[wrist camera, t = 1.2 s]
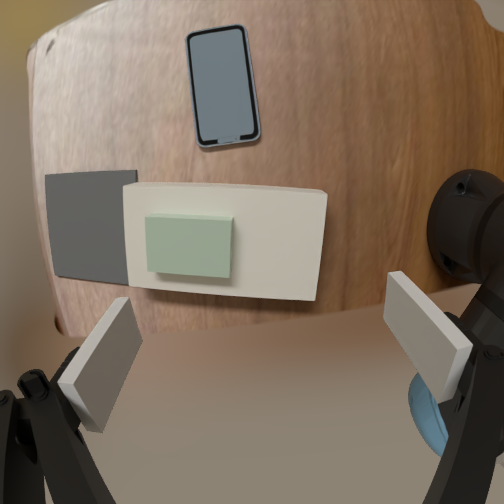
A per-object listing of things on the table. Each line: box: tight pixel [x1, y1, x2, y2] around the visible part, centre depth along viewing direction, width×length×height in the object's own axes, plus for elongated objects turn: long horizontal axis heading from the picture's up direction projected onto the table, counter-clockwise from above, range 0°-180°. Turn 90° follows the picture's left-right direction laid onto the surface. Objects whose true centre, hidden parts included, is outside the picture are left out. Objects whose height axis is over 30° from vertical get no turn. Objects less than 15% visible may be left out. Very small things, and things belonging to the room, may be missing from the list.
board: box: [123, 182, 327, 301], centre depth 35 cm, size 22×12×4 cm, turn 87°
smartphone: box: [185, 24, 261, 148], centre depth 31 cm, size 7×1×15 cm
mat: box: [45, 170, 137, 285], centre depth 37 cm, size 15×15×1 cm
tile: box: [145, 213, 233, 278], centre depth 32 cm, size 9×6×2 cm, turn 87°
